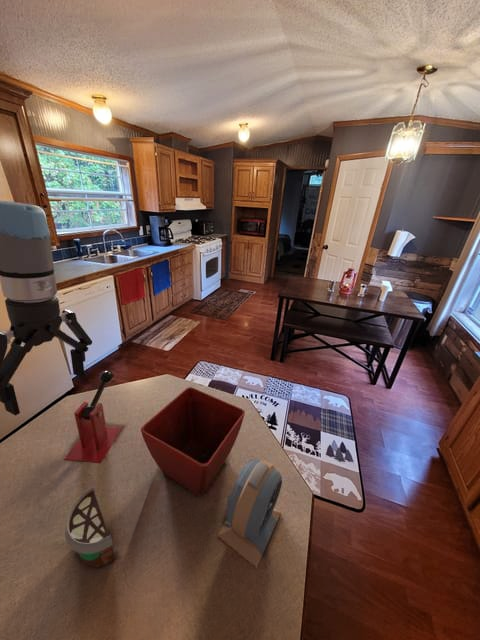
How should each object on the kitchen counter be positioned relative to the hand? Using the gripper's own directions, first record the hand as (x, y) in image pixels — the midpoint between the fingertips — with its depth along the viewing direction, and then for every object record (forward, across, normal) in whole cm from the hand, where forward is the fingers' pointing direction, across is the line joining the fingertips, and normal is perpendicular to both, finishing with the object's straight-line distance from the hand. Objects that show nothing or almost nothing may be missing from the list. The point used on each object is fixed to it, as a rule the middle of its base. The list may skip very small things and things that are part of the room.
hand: (49, 391), depth 53 cm
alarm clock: (+25, +9, -46) cm, 53 cm away
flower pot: (+26, +16, -28) cm, 41 cm away
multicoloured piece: (+27, -8, -18) cm, 33 cm away
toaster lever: (+14, +15, +4) cm, 21 cm away
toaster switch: (+27, +10, +1) cm, 29 cm away
